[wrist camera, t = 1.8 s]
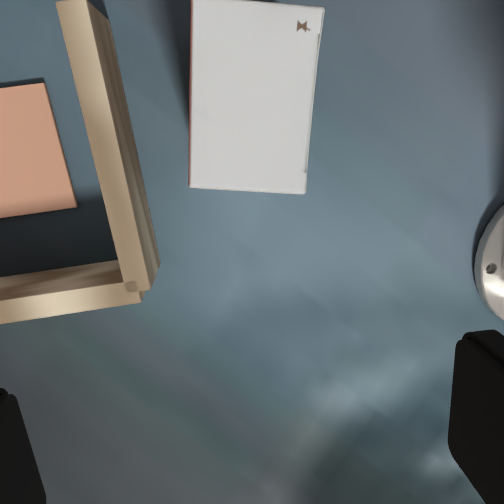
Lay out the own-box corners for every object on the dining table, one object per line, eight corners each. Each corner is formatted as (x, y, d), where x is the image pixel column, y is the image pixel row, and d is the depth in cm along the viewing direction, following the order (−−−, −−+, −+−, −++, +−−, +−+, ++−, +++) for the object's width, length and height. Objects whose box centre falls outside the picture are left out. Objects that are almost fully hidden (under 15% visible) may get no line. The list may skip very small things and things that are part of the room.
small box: (198, 37, 26) (188, -14, 16) (285, 45, 27) (327, 0, 17) (195, 165, 29) (185, 190, 19) (275, 170, 29) (307, 196, 19)
